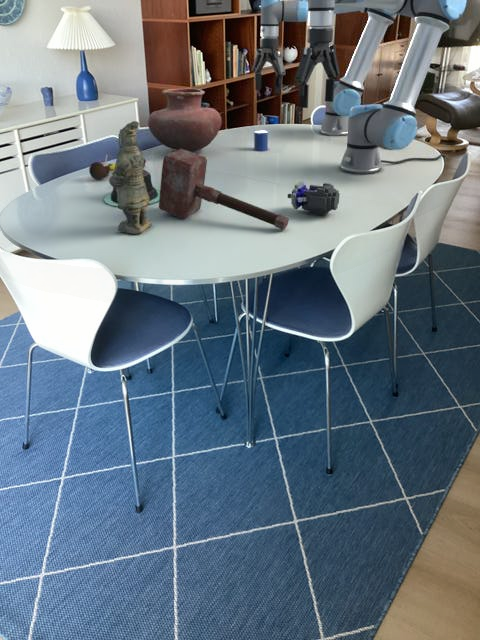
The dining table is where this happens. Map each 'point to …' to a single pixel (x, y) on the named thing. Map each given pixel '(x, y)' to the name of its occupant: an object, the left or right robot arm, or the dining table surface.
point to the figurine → (102, 169)
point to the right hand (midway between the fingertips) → (316, 104)
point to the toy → (315, 198)
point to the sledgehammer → (200, 190)
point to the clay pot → (185, 121)
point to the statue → (131, 182)
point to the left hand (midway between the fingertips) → (267, 91)
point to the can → (260, 140)
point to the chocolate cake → (152, 192)
